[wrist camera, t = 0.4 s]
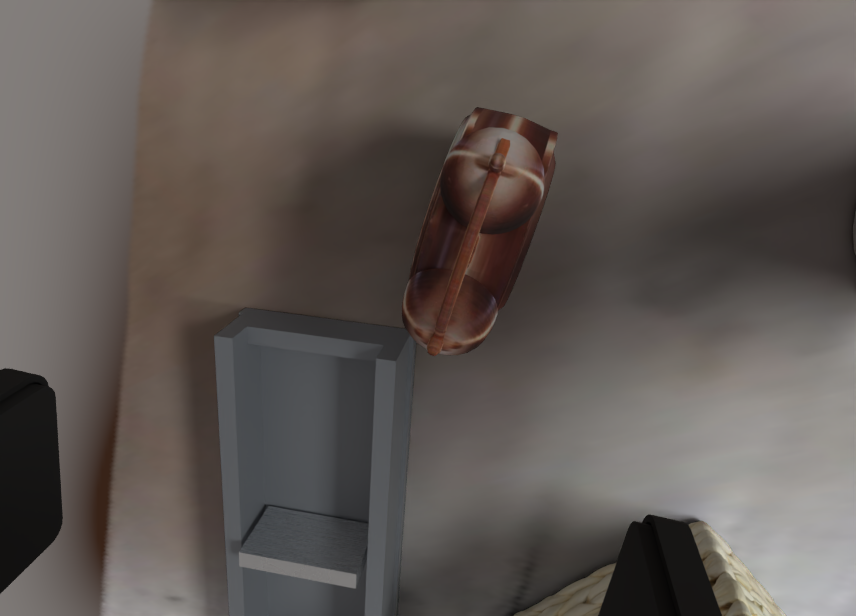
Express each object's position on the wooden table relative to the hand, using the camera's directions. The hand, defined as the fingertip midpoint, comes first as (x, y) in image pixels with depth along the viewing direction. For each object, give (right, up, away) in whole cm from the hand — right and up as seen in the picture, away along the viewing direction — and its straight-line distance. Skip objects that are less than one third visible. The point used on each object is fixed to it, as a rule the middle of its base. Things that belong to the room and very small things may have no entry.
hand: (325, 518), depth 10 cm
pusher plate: (-6, -13, +37) cm, 40 cm away
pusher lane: (-6, -11, +38) cm, 40 cm away
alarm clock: (+5, +10, +28) cm, 30 cm away
